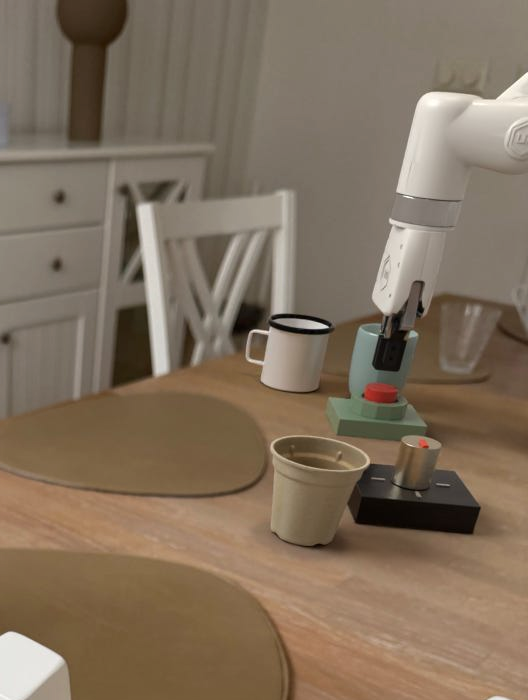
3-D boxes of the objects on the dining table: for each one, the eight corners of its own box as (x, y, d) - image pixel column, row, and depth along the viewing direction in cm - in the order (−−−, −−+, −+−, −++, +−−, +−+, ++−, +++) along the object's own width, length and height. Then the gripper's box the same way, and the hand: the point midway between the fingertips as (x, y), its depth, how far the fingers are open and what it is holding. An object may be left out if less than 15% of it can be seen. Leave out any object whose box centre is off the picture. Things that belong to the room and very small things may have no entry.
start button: (391, 397, 128) (394, 384, 127) (398, 407, 124) (401, 393, 123) (360, 394, 128) (363, 381, 127) (366, 404, 124) (369, 390, 124)
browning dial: (387, 473, 105) (399, 430, 103) (425, 477, 105) (437, 434, 102) (394, 487, 102) (406, 443, 99) (433, 491, 102) (446, 447, 99)
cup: (367, 413, 133) (385, 339, 128) (331, 396, 139) (347, 324, 134) (412, 409, 136) (431, 336, 130) (374, 392, 142) (391, 322, 136)
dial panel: (447, 496, 109) (455, 469, 107) (472, 534, 100) (481, 505, 99) (339, 486, 110) (345, 459, 108) (355, 523, 101) (362, 494, 99)
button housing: (407, 420, 132) (414, 391, 129) (423, 443, 124) (431, 412, 122) (324, 412, 132) (331, 383, 130) (335, 435, 124) (342, 404, 122)
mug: (330, 384, 144) (344, 321, 139) (309, 399, 137) (323, 333, 132) (254, 367, 149) (264, 306, 144) (230, 381, 142) (240, 317, 137)
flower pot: (338, 517, 102) (357, 438, 97) (360, 558, 94) (382, 473, 89) (248, 511, 102) (263, 431, 97) (262, 551, 94) (279, 466, 89)
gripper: (379, 201, 121) (345, 350, 130) (406, 220, 108) (366, 383, 118) (440, 207, 121) (401, 356, 130) (475, 226, 108) (429, 389, 117)
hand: (385, 368), depth 124 cm, fingers closed
